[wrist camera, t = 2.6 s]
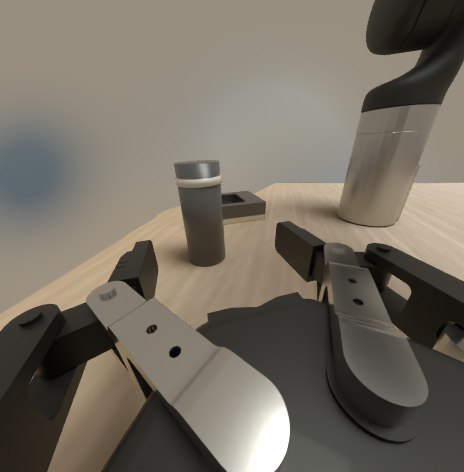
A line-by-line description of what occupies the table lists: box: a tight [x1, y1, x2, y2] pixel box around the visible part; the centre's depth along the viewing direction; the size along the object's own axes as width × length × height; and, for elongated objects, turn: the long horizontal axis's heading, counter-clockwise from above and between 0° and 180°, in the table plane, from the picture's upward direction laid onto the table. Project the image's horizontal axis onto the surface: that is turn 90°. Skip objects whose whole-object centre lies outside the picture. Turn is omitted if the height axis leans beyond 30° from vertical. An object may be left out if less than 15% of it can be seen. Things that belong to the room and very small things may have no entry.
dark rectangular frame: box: [221, 191, 266, 225], centre depth 39 cm, size 14×10×4 cm
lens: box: [174, 160, 225, 267], centre depth 22 cm, size 5×5×12 cm
